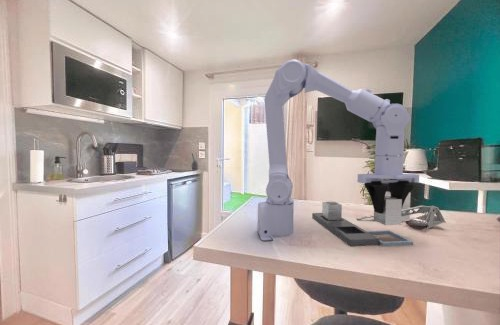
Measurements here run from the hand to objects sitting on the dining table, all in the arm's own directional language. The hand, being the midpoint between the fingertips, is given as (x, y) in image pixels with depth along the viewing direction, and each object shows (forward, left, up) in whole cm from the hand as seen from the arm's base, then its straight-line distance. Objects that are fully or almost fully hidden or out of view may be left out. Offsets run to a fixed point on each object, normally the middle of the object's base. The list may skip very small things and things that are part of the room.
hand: (387, 212), depth 54 cm
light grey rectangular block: (0, 0, -2) cm, 2 cm away
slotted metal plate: (-8, +8, -8) cm, 13 cm away
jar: (+17, +19, -8) cm, 27 cm away
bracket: (+13, +12, -8) cm, 20 cm away
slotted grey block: (-8, +13, -7) cm, 16 cm away
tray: (0, 0, -8) cm, 8 cm away
